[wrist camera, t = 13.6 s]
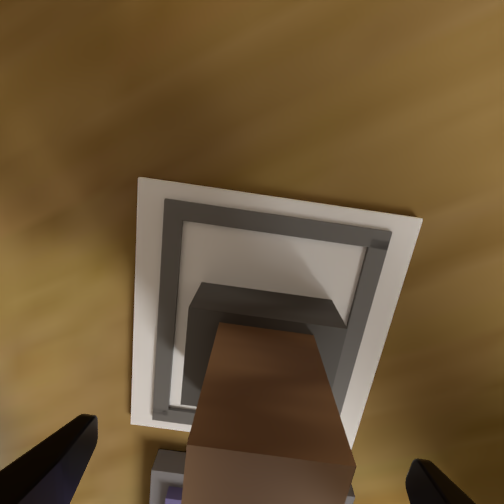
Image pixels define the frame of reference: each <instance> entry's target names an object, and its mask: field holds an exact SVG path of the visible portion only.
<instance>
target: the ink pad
mask: <svg viewBox="0 0 504 504" xmlns="http://www.w3.org/2000/svg"><path fill="white" fill-rule="evenodd" d="M185 458H186V453H185V452H178V451H171V450H163V449H159V450H158V453H157V456H156V459H155V461H154V464H153V467H152V470H151V485H150V503H149V504H181V500H182V490H183V479H184V468H185ZM354 499H355V495H354V492H353V488H352V485H350V488H349V492H348V495H347V498H346V501H345V504H353V502H354Z"/></svg>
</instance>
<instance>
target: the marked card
mask: <svg viewBox="0 0 504 504" xmlns="http://www.w3.org/2000/svg"><path fill="white" fill-rule="evenodd" d="M422 221H423V219H422V218H419V217H412V216H406V215H399V214H392V213H385V212H378V211H371V210H365V209H358V208H351V207H344V206H337V205H330V204H324V203H317V202H310V201H303V200H296V199H289V198H283V197H276V196H269V195H262V194H255V193H248V192H242V191H235V190H228V189H221V188H214V187H207V186H201V185H194V184H187V183H180V182H173V181H167V180H160V179H153V178H146V177H138V193H137V227H136V261H135V295H134V329H133V363H132V397H131V424H135V425H142V426H149V427H157V428H164V429H172V430H179V431H187V432H190V431H191V427H192V423H193V419H194V415H195V412H196V408H197V407H195V406H188V405H180V404H181V392H182V380H183V368H184V356H185V344H186V332H187V320H188V307H189V305H190V303H191V301H192V300H193V298H194V296H195V294H196V292H197V290H198V288H199V286H200V284H201V282H206V283H213V284H220V285H228V286H235V287H242V288H249V289H257V290H264V291H271V292H279V293H286V294H293V295H300V296H308V297H315V298H322V299H330V300H332V301H333V303H334V305H335V307H336V309H337V310H338V312H339V314H340V316H341V318H342V319H343V321H344V323H345V325H346V327H347V329H348V330H347V334H346V338H345V341H344V345H343V349H342V353H341V357H340V361H339V364H338V368H337V372H336V376H335V380H334V384H333V388H332V393H333V396H334V399H335V402H336V405H337V408H338V411H339V415H340V418H341V421H342V424H343V427H344V430H345V433H346V436H347V439H348V442H349V445H350V448H351V449H352V446H353V443H354V440H355V436H356V433H357V430H358V427H359V424H360V420H361V417H362V414H363V411H364V407H365V404H366V401H367V398H368V395H369V391H370V388H371V385H372V382H373V379H374V375H375V372H376V369H377V366H378V362H379V359H380V356H381V353H382V350H383V346H384V343H385V340H386V337H387V334H388V330H389V327H390V324H391V321H392V317H393V314H394V311H395V308H396V305H397V301H398V298H399V295H400V292H401V289H402V285H403V282H404V279H405V276H406V272H407V269H408V266H409V263H410V260H411V256H412V253H413V250H414V247H415V244H416V240H417V237H418V234H419V231H420V228H421V224H422Z"/></svg>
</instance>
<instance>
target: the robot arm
mask: <svg viewBox="0 0 504 504" xmlns="http://www.w3.org/2000/svg"><path fill="white" fill-rule="evenodd" d="M97 439H98V420H97V416H95V415H89V414H81V415H79V416H77V417H76V418H75V419H73V420H72V421H70V422H69V423H68V424H66V425H65V426H63V427H62V428H60V429H59V430H58V431H56V432H55V433H53V434H52V435H50V436H49V437H48V438H46V439H45V440H43V441H42V442H41V443H39V444H38V445H36V446H35V447H33V448H32V449H31V450H29V451H28V452H26V453H25V454H24V455H22V456H21V457H19V458H18V459H16V460H15V461H14V462H12V463H11V464H9V465H8V466H6V467H5V468H4V469H2V470H1V471H0V504H70V502H71V500H72V498H73V495H74V493H75V491H76V489H77V487H78V484H79V482H80V480H81V478H82V475H83V473H84V471H85V469H86V467H87V464H88V462H89V460H90V458H91V456H92V453H93V451H94V449H95V447H96V444H97ZM405 483H406V490H407V494H408V497H409V501H410V504H475V503H474V502H473V501H472V500H471V499H470V498H469V497H468V496H467V495H466V494H465V493H464V492H463V491H462V490H461V489H460V488H459V487H458V486H456V485H455V484H454V483H453V482H452V481H451V480H450V479H449V478H448V477H447V476H446V475H445V474H444V473H443V472H442V471H441V470H440V469H439V468H438V467H437V466H435V465H434V464H433V463H432V462H431V461H429V460H423V459H414V460H413V462H412V464H411V467H410V469H409V472H408V474H407V477H406V482H405Z"/></svg>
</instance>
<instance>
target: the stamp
mask: <svg viewBox="0 0 504 504" xmlns="http://www.w3.org/2000/svg"><path fill="white" fill-rule="evenodd" d="M347 330H348V329H347V327H346V325H345V323H344V321H343V319H342V318H341V316H340V314H339V312H338V310H337V309H336V307H335V305H334V303H333V301H332V300H330V299H322V298H315V297H308V296H300V295H293V294H286V293H279V292H271V291H264V290H257V289H249V288H242V287H235V286H228V285H220V284H213V283H206V282H201V284H200V286H199V288H198V290H197V292H196V294H195V296H194V298H193V300H192V301H191V303H190V305H189V307H188V320H187V332H186V344H185V356H184V368H183V380H182V392H181V404H180V405H188V406H195V407H197V408H196V412H195V415H194V419H193V423H192V427H191V431H190V434H189V438H188V442H187V447H186V458H185V468H184V479H183V490H182V500H181V504H345V501H346V498H347V495H348V492H349V488H350V485H351V482H352V479H353V476H354V473H355V470H356V464H355V461H354V458H353V455H352V452H351V448H350V445H349V442H348V439H347V436H346V433H345V430H344V427H343V424H342V421H341V418H340V415H339V411H338V408H337V405H336V402H335V399H334V396H333V393H332V388H333V384H334V380H335V376H336V372H337V368H338V364H339V361H340V357H341V353H342V349H343V345H344V341H345V338H346V334H347Z"/></svg>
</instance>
